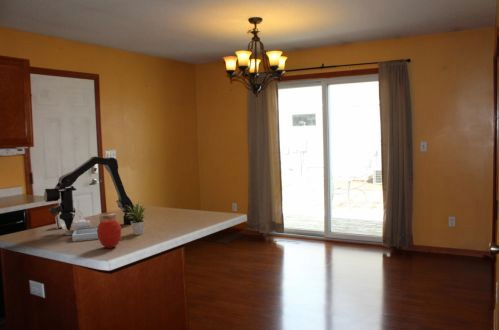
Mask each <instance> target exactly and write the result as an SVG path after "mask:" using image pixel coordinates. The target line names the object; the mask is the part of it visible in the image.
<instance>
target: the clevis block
mask: <svg viewBox="0 0 499 330" xmlns="http://www.w3.org/2000/svg"><path fill="white" fill-rule="evenodd" d="M106 219H113V220H116V221H117V219H116V212H105V213H104V212H103V213H99V217H98V220H99V224H100V223H101V222H102V221H103V220H106ZM98 226H99V225H96V226H95V225H94V226H90V229H95V228H98ZM81 230H85V229H81ZM74 231H75V230H72V231H65V230H64V234H65V236H72V235H73V232H74Z"/></svg>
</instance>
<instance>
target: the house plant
mask: <svg viewBox="0 0 499 330" xmlns="http://www.w3.org/2000/svg"><path fill="white" fill-rule="evenodd" d="M126 206H127V205H126ZM133 206H134V208H133V210H134V212H135V213H134V212H133V210H132V209H131V208H130V207H129V206H128V207H129V208H130V209H131V211H132V212H133V213H132V212H131V211H130V209H129V211H130V212H131V213H126V214H128V215H129V214H133V216H134V215H135V216H134V217H135V218H134V217H133V216H132V215H129V216H130V217H131V216H132V217H131V218H132V219H134V221H131V224H130V225H131V230H132V234H133V235H134V236H135V235H137V236H139V235H143V234H144V233H145V224H146V220H145V219H144V218H145V216H144V215H145V213H144V212H145V210H146V209H147V206H145V207H143V206H142V204H141V203H140V202H136V203H135V204H133ZM127 210H128V208H127ZM143 213H144V214H143ZM128 215H127V216H128ZM130 217H128V218H130ZM131 218H130V219H131Z"/></svg>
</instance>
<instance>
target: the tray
mask: <svg viewBox="0 0 499 330" xmlns="http://www.w3.org/2000/svg"><path fill="white" fill-rule="evenodd" d="M97 229H98V228H95V229H85V230H75V231H74V232H73V235H71V236H72V242H81V241H89V240H90V241H91V240H99V238H98V234H97Z"/></svg>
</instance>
